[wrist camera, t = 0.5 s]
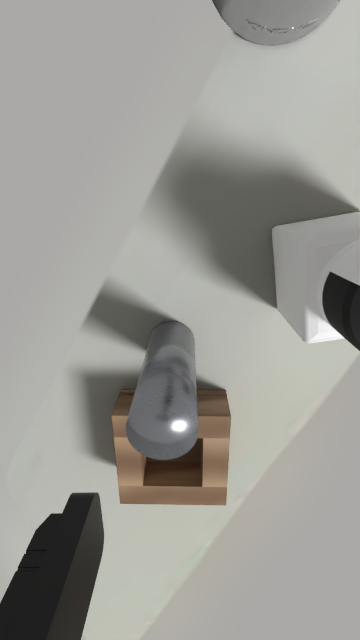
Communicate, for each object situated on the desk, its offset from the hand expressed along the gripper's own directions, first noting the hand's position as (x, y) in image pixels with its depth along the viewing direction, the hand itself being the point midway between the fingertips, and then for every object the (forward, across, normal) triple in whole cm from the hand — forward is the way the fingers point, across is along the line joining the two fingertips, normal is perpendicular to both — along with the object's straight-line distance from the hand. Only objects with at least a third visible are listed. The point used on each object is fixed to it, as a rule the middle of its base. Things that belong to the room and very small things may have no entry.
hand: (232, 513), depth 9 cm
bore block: (+20, +3, +12) cm, 24 cm away
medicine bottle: (+19, -10, -5) cm, 22 cm away
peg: (+20, +3, +2) cm, 20 cm away
